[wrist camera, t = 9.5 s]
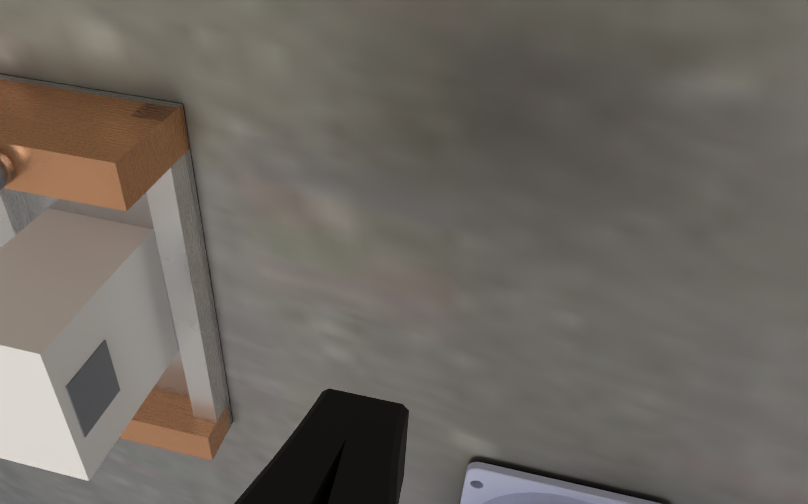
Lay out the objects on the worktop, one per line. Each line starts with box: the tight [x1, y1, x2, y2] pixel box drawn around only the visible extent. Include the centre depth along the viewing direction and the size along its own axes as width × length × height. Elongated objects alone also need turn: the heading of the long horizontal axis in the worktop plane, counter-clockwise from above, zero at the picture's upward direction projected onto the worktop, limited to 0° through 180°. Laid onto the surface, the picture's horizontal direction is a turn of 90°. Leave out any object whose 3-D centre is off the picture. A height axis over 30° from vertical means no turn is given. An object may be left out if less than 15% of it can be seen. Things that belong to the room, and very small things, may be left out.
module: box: [0, 208, 178, 481], centre depth 23 cm, size 6×4×6 cm
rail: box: [0, 74, 233, 460], centre depth 23 cm, size 15×8×4 cm, turn 177°
